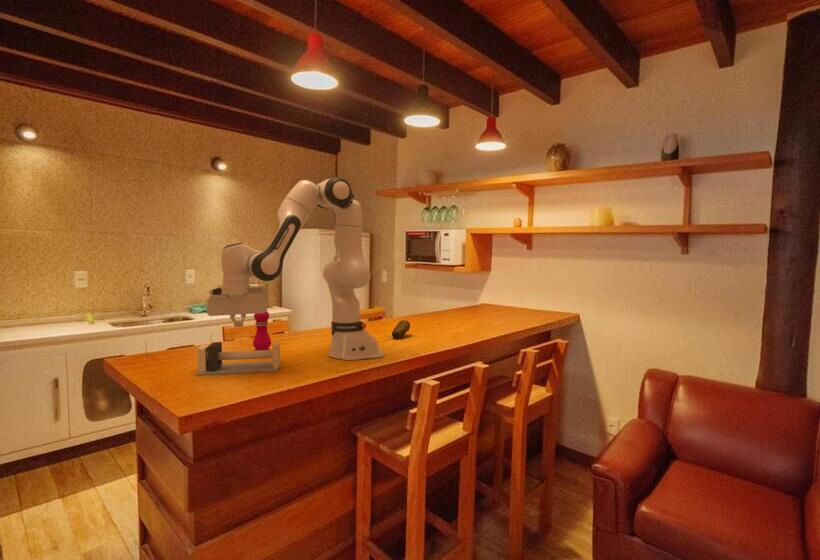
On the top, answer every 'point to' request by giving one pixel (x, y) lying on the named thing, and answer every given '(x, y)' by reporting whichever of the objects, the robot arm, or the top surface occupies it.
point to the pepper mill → (261, 332)
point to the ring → (214, 355)
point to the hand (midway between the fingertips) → (238, 326)
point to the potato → (401, 329)
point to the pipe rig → (239, 355)
